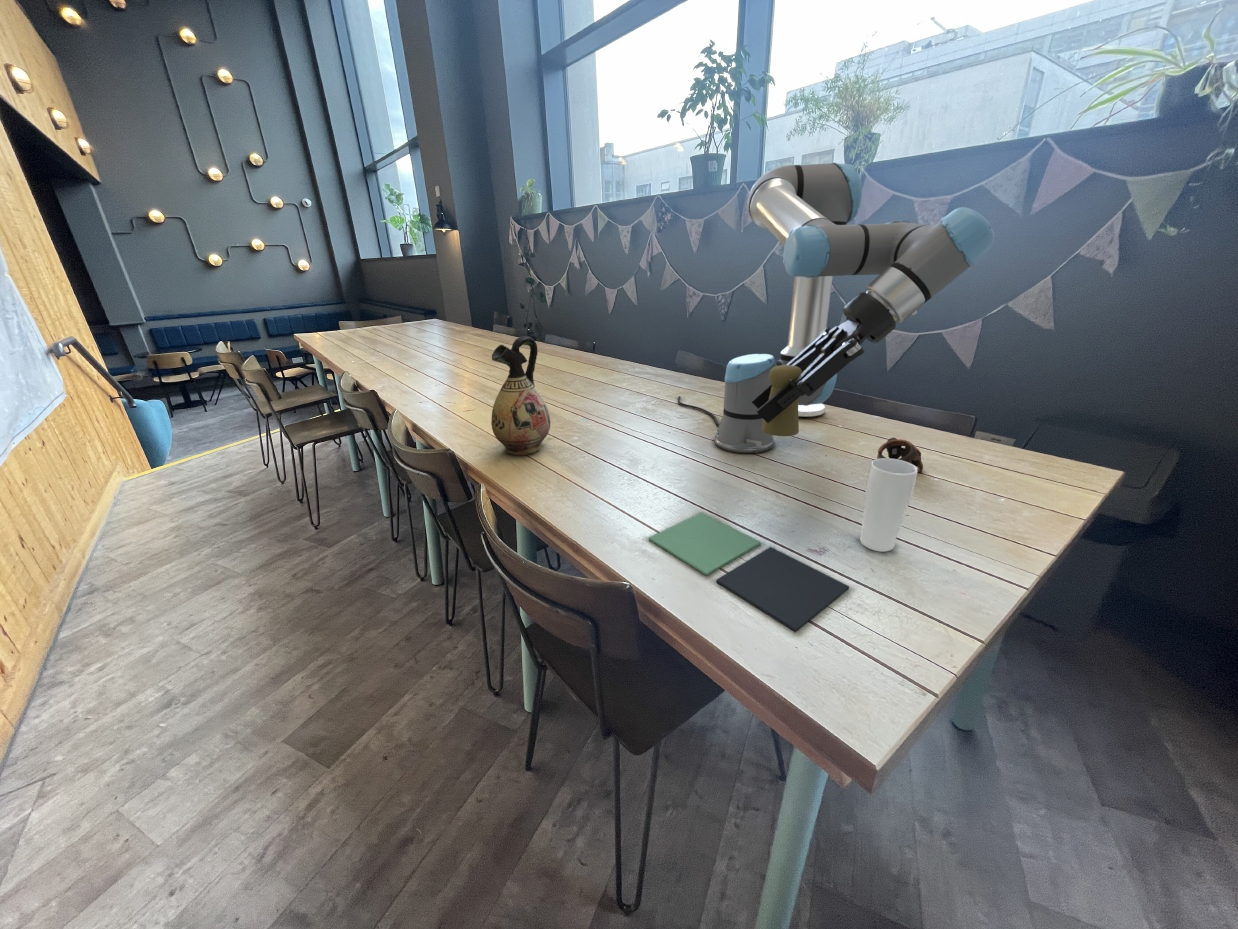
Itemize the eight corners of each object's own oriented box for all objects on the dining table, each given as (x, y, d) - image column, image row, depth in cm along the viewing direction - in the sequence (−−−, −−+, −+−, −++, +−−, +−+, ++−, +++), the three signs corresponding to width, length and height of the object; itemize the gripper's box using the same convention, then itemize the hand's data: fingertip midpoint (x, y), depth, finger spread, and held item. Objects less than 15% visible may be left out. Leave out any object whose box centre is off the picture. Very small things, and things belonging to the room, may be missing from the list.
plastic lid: (799, 422, 142) (800, 414, 141) (768, 410, 154) (768, 402, 153) (833, 415, 147) (835, 407, 146) (801, 404, 159) (802, 397, 158)
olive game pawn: (759, 434, 79) (765, 368, 74) (763, 423, 84) (769, 361, 79) (797, 437, 77) (806, 370, 72) (799, 426, 82) (807, 363, 77)
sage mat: (648, 539, 85) (648, 537, 85) (701, 514, 93) (701, 512, 93) (706, 576, 75) (706, 573, 75) (760, 544, 83) (760, 541, 82)
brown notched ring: (933, 480, 105) (927, 453, 100) (888, 494, 108) (880, 469, 104) (910, 447, 114) (904, 422, 110) (869, 461, 117) (862, 437, 113)
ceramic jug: (513, 465, 118) (498, 344, 106) (485, 449, 129) (468, 338, 117) (568, 447, 128) (560, 335, 116) (538, 434, 139) (527, 330, 127)
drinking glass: (897, 560, 77) (917, 477, 71) (852, 548, 81) (868, 469, 75) (899, 540, 82) (919, 462, 76) (857, 530, 86) (873, 454, 80)
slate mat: (716, 582, 73) (716, 579, 73) (770, 549, 81) (770, 546, 81) (795, 632, 63) (796, 629, 63) (848, 589, 71) (849, 586, 71)
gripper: (923, 334, 63) (784, 446, 72) (873, 318, 80) (765, 411, 88) (889, 293, 62) (751, 412, 70) (845, 286, 78) (738, 383, 87)
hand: (759, 411), depth 79 cm, fingers closed on olive game pawn, 5 cm apart
